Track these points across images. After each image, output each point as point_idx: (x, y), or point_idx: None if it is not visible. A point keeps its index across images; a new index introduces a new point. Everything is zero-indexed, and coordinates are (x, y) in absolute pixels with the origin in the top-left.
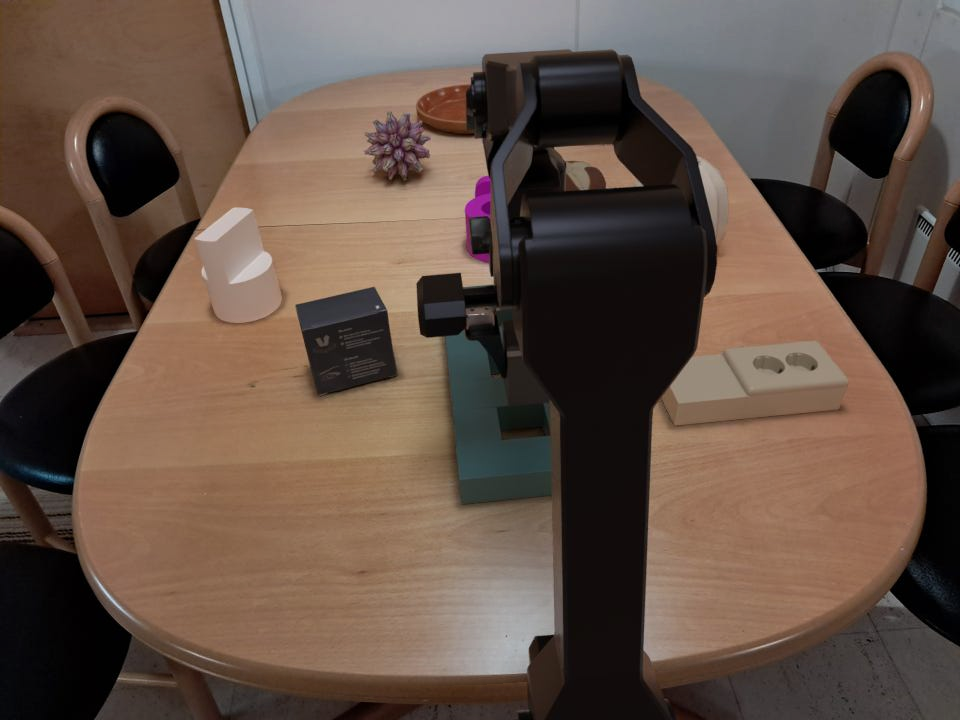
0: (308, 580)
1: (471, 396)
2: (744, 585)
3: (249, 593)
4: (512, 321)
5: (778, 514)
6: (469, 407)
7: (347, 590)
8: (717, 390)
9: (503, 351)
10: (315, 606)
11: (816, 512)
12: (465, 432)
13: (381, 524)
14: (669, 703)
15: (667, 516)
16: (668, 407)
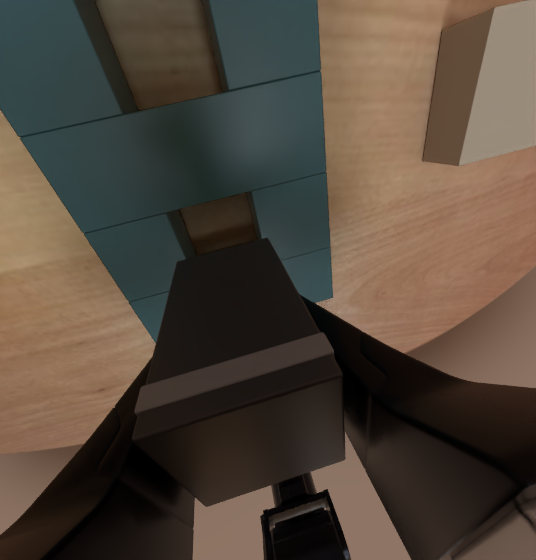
0: (55, 405)
1: (101, 188)
2: (394, 334)
3: (9, 424)
4: (188, 435)
5: (452, 275)
6: (112, 221)
7: (99, 402)
8: (529, 125)
9: (194, 498)
10: (80, 416)
11: (481, 268)
12: (133, 279)
13: (87, 352)
14: (349, 554)
15: (365, 293)
16: (434, 128)
